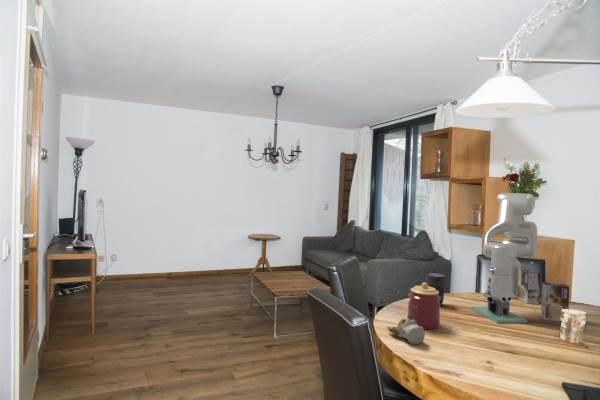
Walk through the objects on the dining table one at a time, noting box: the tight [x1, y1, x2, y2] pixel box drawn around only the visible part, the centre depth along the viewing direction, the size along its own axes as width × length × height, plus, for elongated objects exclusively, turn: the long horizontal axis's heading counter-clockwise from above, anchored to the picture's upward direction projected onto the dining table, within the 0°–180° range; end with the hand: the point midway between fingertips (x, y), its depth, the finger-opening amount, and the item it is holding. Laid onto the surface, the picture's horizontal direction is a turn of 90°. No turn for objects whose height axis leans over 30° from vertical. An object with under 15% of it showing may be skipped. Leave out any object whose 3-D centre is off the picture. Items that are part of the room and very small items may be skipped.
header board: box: [470, 306, 528, 324], centre depth 175 cm, size 20×14×4 cm
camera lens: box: [426, 272, 446, 307], centre depth 189 cm, size 8×8×15 cm
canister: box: [406, 281, 442, 330], centre depth 159 cm, size 13×13×18 cm
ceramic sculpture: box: [387, 317, 426, 345], centre depth 142 cm, size 11×9×15 cm
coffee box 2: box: [540, 281, 570, 322], centre depth 173 cm, size 9×6×16 cm
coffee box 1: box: [517, 269, 541, 305], centre depth 202 cm, size 9×6×16 cm
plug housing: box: [487, 297, 510, 316], centre depth 175 cm, size 9×4×6 cm, turn 7°
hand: (498, 310), depth 175 cm, fingers open, 5 cm apart
